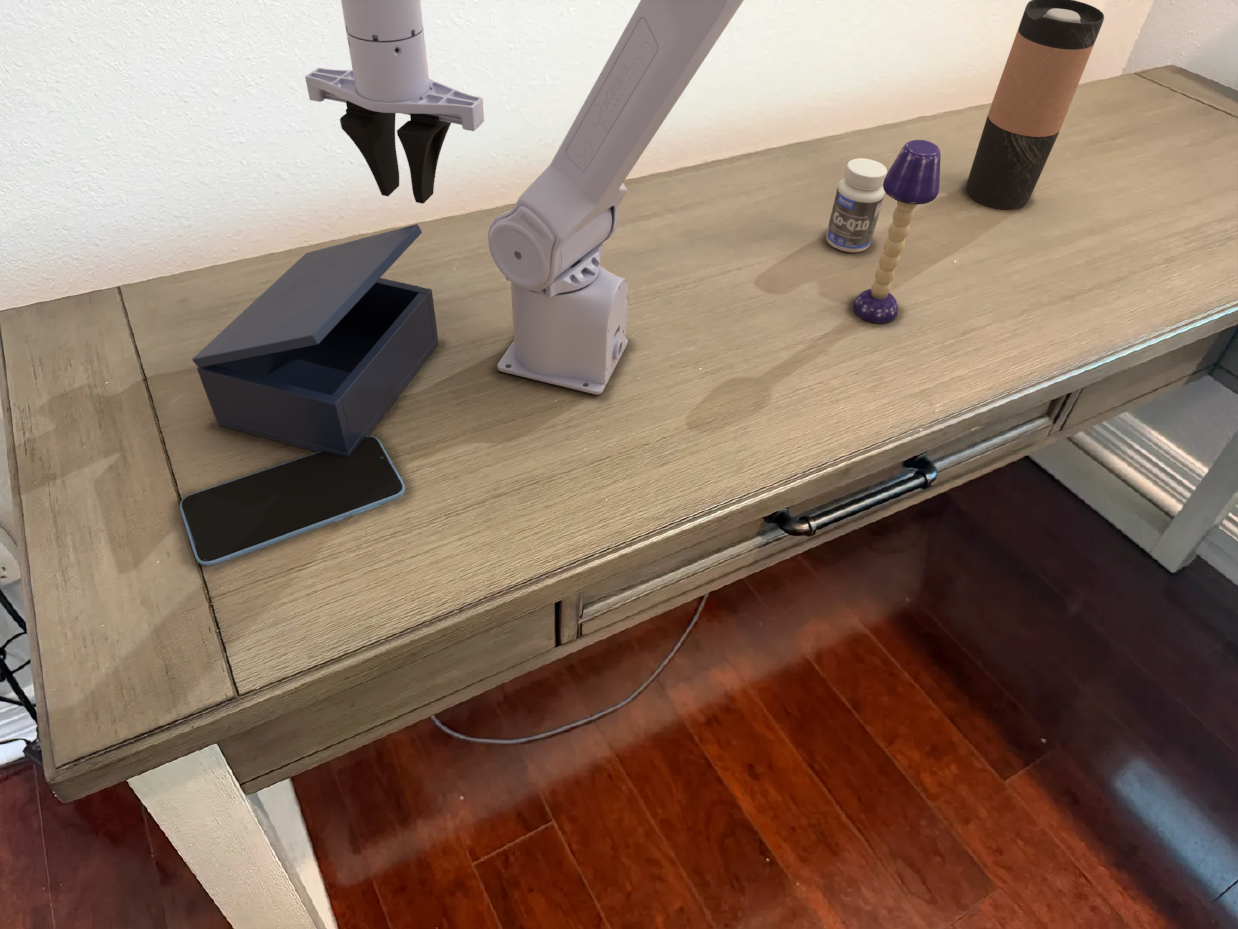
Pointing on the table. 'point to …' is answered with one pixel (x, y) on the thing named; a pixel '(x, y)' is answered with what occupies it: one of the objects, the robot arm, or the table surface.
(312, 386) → the box
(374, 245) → the lid
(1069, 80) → the travel mug
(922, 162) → the toy lamp
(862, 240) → the pill bottle
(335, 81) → the robot arm
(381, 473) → the smartphone
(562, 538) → the table surface
